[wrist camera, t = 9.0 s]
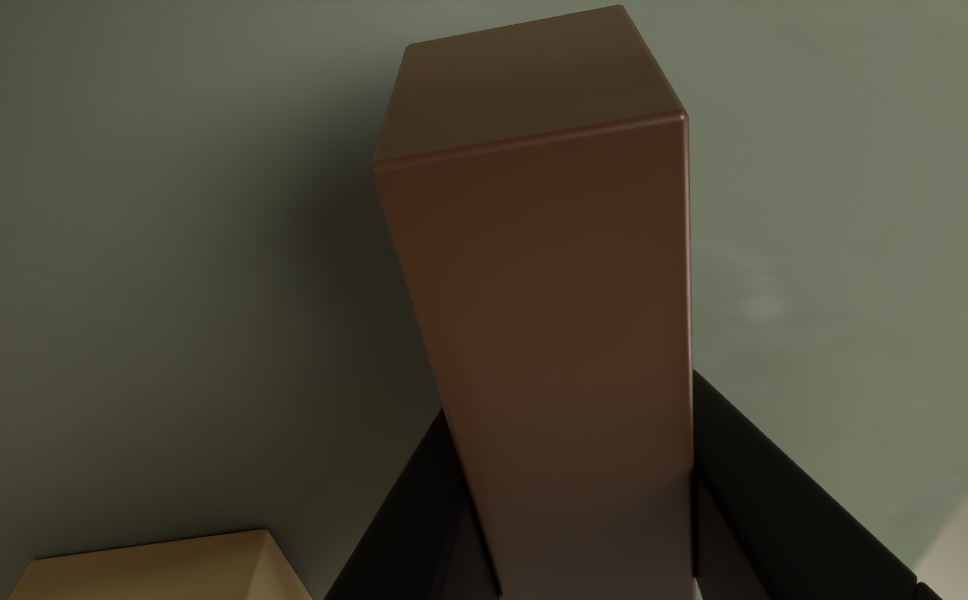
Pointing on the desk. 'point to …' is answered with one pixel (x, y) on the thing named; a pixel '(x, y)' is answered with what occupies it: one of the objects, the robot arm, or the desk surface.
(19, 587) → the letter tile L
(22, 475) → the desk surface
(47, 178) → the desk surface
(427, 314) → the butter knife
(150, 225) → the desk surface
